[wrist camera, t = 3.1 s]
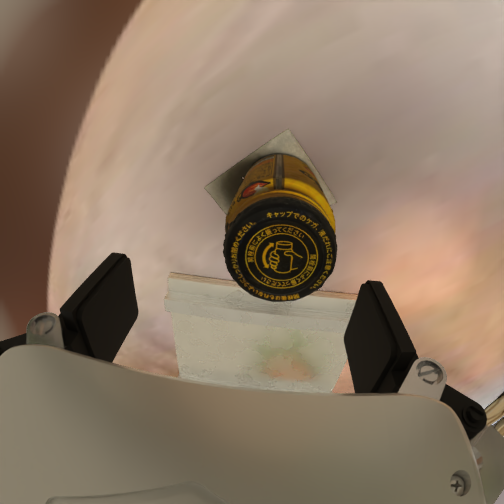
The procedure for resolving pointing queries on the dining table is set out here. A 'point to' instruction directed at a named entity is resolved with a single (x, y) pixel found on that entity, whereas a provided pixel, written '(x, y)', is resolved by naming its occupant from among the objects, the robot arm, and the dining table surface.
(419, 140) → the dining table surface
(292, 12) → the dining table surface
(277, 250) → the condiment
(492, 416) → the tableware set
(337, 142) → the dining table surface
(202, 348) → the white flat square pad
